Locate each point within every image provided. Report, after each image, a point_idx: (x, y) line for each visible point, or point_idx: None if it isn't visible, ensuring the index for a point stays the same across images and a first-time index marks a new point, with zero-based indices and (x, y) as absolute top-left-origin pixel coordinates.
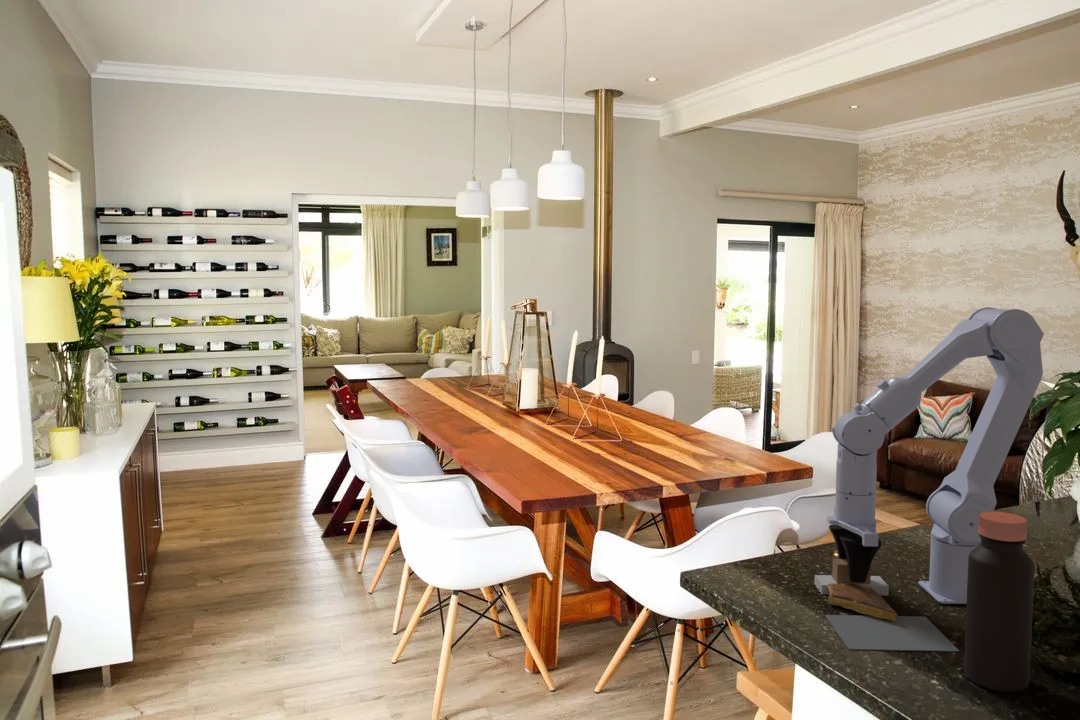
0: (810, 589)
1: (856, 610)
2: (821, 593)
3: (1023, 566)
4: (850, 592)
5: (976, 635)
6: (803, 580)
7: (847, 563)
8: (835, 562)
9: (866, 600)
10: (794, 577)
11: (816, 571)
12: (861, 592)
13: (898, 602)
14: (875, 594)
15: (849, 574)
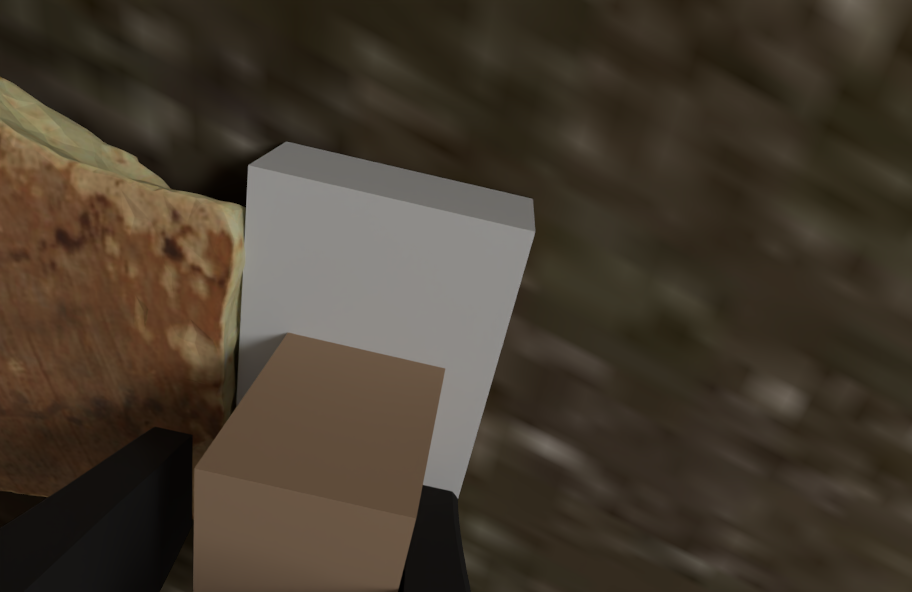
0: (415, 92)
1: None
2: (287, 143)
3: None
4: (2, 316)
5: None
6: (659, 141)
7: (55, 559)
8: (290, 485)
9: None
10: (772, 84)
11: (820, 372)
12: (23, 401)
13: None
14: (21, 474)
15: (113, 465)
